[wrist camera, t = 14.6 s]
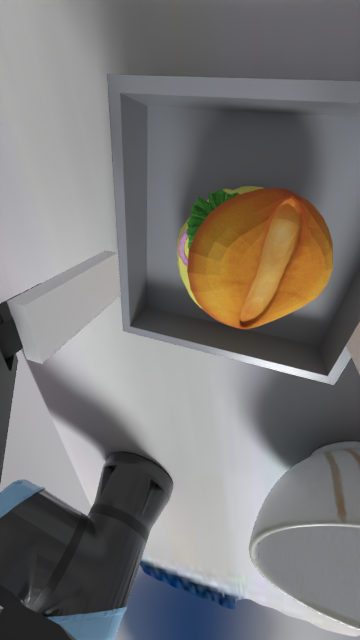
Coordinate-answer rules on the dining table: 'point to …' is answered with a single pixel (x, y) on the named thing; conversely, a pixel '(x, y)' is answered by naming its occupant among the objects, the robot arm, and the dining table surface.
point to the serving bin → (231, 173)
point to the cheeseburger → (254, 254)
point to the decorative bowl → (315, 533)
